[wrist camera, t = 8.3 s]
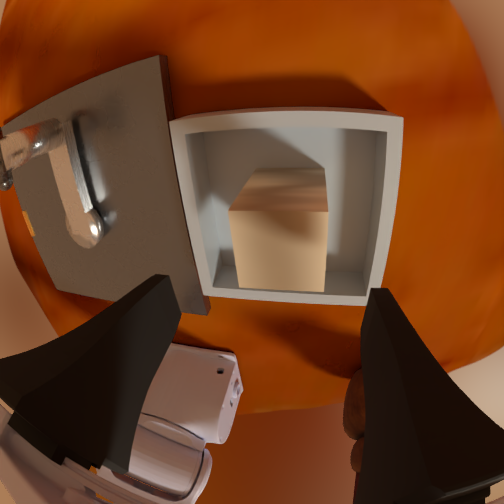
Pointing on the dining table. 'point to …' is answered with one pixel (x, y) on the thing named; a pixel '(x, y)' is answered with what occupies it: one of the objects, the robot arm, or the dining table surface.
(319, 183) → the block
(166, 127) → the base plate
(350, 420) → the wooden figurine
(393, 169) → the tray
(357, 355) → the dining table surface
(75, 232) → the crank
